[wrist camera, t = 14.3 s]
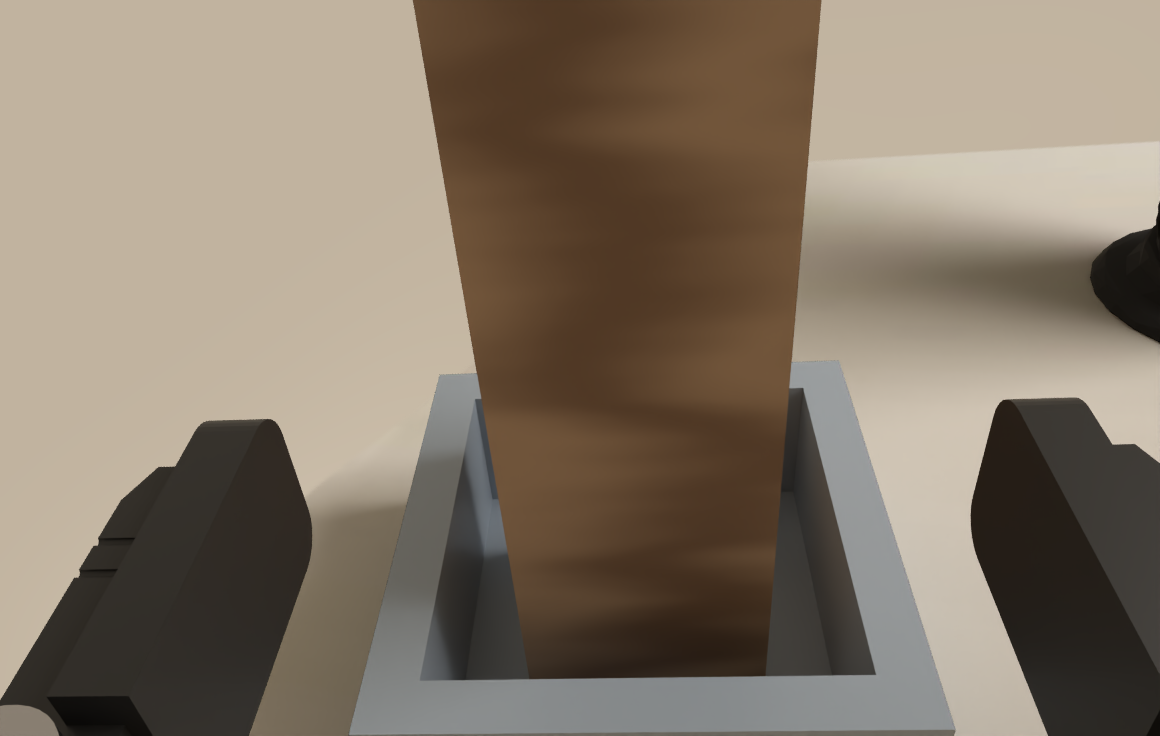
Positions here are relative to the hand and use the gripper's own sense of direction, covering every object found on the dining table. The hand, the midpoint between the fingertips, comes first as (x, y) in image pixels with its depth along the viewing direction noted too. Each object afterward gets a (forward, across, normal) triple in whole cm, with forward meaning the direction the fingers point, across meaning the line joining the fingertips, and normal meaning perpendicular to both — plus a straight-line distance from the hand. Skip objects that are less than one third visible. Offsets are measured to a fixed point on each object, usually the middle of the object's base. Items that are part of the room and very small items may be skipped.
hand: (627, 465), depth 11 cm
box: (+8, 0, +14) cm, 16 cm away
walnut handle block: (+8, 0, +13) cm, 15 cm away
